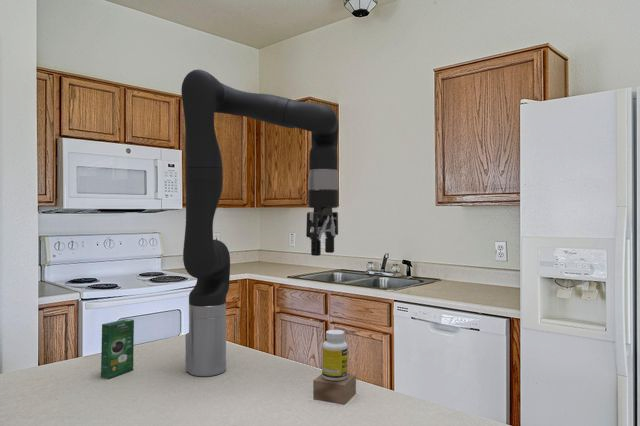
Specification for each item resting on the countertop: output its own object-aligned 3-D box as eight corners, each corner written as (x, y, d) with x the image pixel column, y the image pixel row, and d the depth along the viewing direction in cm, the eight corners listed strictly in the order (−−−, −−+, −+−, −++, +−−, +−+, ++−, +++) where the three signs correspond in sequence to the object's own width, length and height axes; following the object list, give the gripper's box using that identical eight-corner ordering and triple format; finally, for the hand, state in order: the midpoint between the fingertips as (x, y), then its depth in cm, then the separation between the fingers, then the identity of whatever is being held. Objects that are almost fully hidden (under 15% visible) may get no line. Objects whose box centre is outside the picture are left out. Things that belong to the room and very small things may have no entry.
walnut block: (313, 399, 103) (313, 380, 103) (326, 388, 110) (326, 370, 110) (344, 404, 101) (344, 385, 101) (355, 393, 107) (355, 374, 107)
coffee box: (126, 368, 127) (126, 317, 127) (134, 369, 125) (134, 318, 125) (100, 377, 119) (100, 323, 119) (108, 379, 118) (108, 325, 118)
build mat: (292, 402, 105) (292, 396, 105) (316, 383, 116) (316, 379, 116) (346, 411, 100) (346, 406, 100) (365, 391, 111) (365, 386, 111)
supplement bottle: (345, 382, 102) (345, 335, 102) (319, 380, 103) (320, 334, 103) (349, 374, 107) (349, 329, 107) (324, 372, 108) (324, 328, 108)
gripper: (320, 189, 129) (320, 251, 129) (296, 187, 116) (296, 255, 116) (347, 189, 126) (347, 252, 126) (325, 187, 113) (325, 257, 113)
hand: (322, 254), depth 121 cm, fingers open, 8 cm apart
